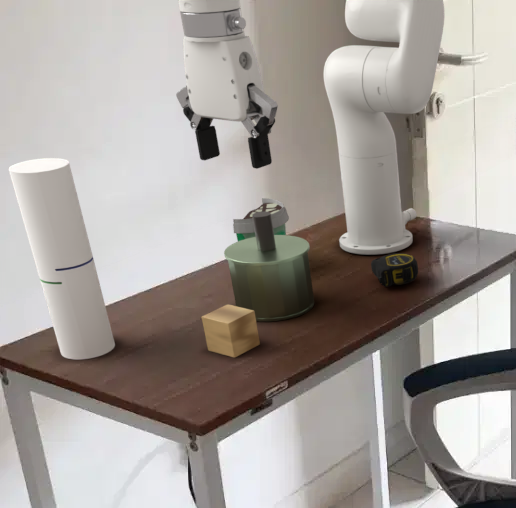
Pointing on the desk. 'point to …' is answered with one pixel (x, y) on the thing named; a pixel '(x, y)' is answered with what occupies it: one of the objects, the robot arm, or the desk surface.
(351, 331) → the desk surface
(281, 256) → the lid
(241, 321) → the block
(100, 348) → the cylindrical container
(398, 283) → the tape measure
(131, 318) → the desk surface
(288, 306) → the tin
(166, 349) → the desk surface
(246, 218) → the food container
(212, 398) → the desk surface
